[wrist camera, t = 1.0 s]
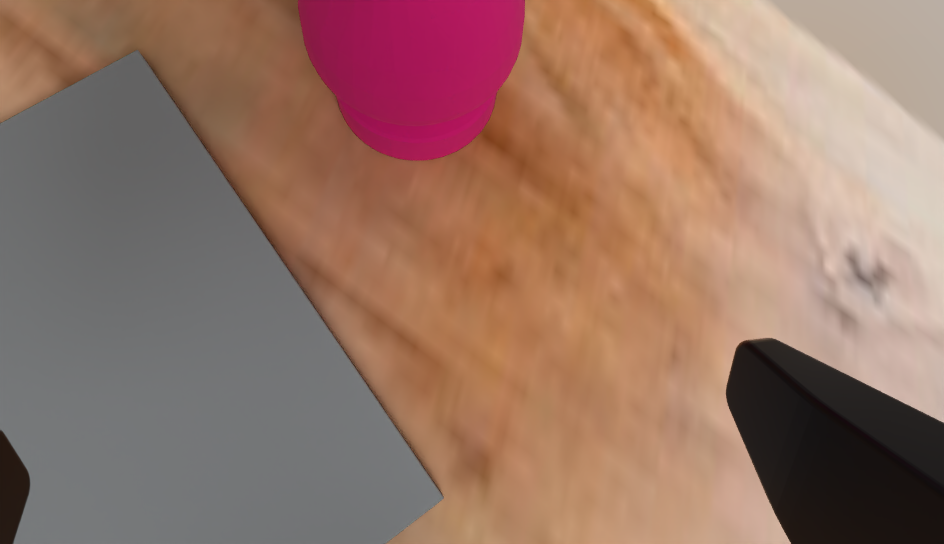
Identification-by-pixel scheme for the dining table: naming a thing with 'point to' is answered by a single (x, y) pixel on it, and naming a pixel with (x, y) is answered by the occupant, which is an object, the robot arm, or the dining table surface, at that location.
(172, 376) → the place mat
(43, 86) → the dining table surface
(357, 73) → the magenta pepper mill
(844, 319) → the dining table surface
